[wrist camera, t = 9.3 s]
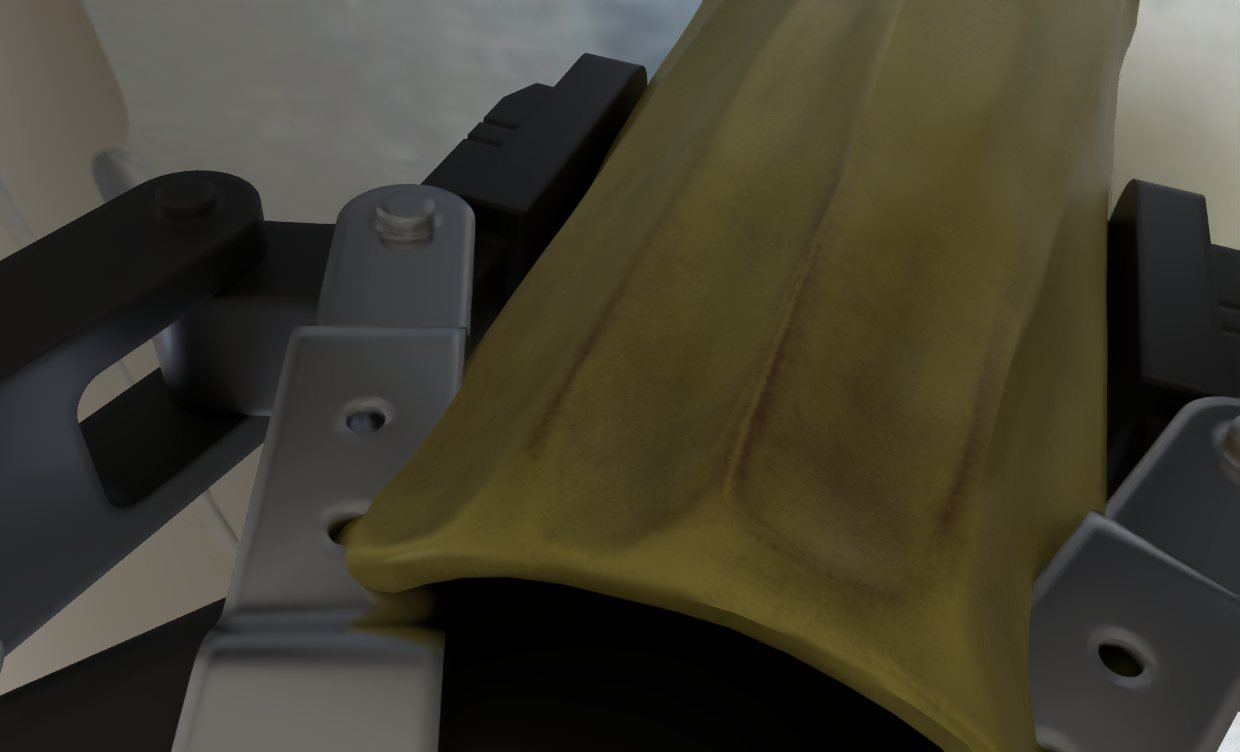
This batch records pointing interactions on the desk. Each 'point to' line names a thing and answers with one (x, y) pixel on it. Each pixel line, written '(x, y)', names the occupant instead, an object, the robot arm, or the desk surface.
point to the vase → (810, 352)
